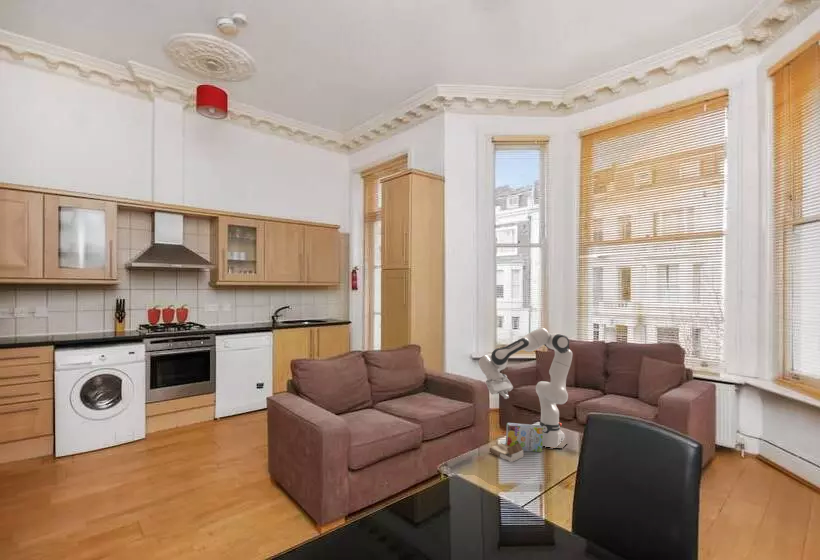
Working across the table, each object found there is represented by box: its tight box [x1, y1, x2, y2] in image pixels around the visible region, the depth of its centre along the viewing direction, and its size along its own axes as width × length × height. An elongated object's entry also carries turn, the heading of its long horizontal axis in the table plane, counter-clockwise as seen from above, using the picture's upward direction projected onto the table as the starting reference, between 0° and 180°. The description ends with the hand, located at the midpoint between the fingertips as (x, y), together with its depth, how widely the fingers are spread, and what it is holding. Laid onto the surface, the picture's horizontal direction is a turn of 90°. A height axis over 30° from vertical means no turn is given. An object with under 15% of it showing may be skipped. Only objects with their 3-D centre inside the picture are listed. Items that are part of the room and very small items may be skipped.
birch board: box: [489, 443, 510, 458], centre depth 246 cm, size 12×11×3 cm
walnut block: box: [507, 443, 523, 455], centre depth 240 cm, size 4×4×7 cm
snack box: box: [505, 422, 543, 453], centre depth 255 cm, size 21×6×15 cm, turn 86°
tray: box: [499, 450, 524, 463], centre depth 241 cm, size 12×8×4 cm, turn 132°
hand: (507, 398), depth 253 cm, fingers closed
